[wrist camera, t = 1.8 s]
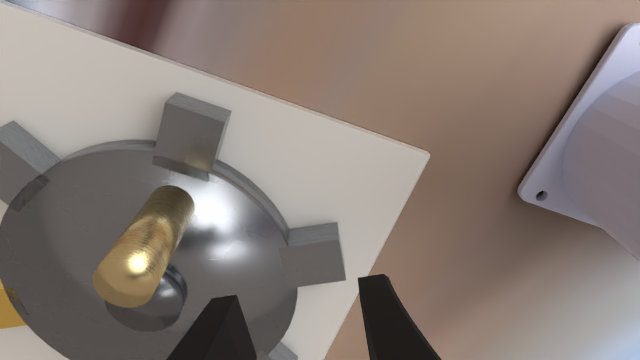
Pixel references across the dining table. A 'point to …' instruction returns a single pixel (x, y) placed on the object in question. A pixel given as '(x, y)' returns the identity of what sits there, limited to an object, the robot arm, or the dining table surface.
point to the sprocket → (148, 241)
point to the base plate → (237, 151)
